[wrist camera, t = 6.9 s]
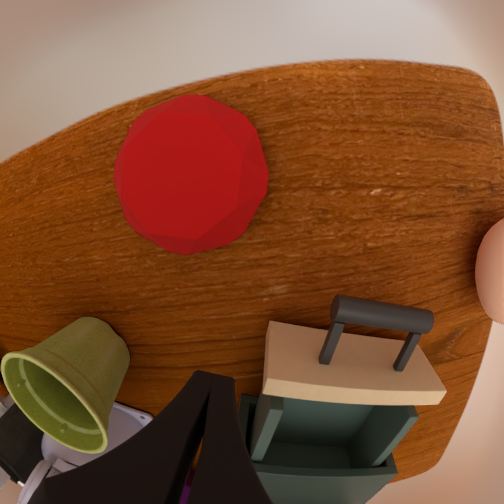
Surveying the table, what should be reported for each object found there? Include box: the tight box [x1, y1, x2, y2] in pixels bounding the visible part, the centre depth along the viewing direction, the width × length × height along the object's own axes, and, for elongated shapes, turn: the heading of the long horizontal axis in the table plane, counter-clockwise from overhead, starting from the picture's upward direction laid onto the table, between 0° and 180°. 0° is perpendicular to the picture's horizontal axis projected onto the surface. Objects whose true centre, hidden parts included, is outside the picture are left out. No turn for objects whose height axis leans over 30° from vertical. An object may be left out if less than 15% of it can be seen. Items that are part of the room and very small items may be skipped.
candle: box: [0, 403, 44, 491], centre depth 14 cm, size 5×5×25 cm
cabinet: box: [237, 394, 398, 504], centre depth 21 cm, size 14×13×8 cm
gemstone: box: [114, 95, 269, 255], centre depth 16 cm, size 9×9×3 cm
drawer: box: [246, 294, 447, 469], centre depth 18 cm, size 17×11×6 cm
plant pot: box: [1, 317, 130, 454], centre depth 18 cm, size 9×9×9 cm
